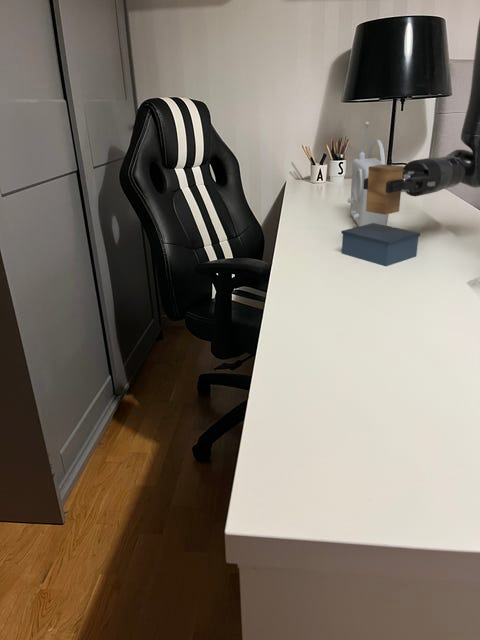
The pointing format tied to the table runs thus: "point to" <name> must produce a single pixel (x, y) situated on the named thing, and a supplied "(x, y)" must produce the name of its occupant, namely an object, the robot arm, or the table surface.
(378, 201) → the brown wooden block
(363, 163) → the radio
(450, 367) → the table surface
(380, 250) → the storage box
